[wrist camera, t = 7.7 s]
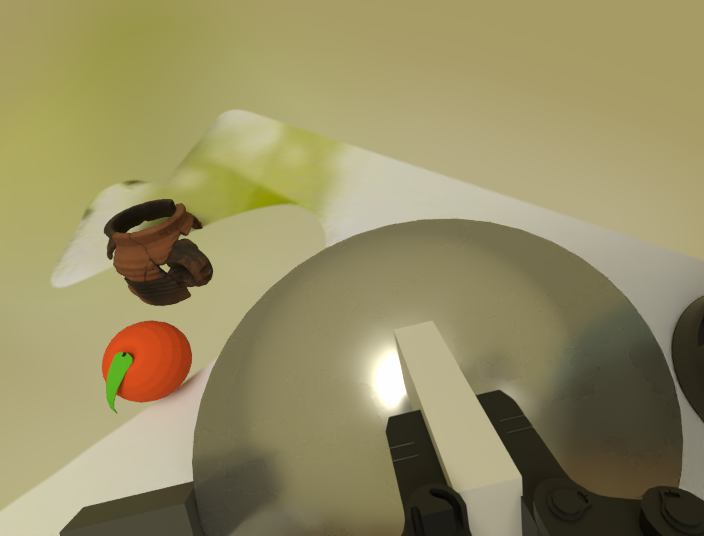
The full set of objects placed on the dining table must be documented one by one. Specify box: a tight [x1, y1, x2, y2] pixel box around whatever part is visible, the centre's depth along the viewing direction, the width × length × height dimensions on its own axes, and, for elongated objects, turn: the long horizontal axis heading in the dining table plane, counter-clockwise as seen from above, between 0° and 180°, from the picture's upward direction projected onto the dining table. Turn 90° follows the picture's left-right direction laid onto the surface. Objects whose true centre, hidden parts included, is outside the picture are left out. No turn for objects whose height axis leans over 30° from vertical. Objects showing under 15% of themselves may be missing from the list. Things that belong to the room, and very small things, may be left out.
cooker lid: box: [59, 219, 683, 536], centre depth 16 cm, size 26×21×2 cm
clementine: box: [102, 321, 192, 413], centre depth 33 cm, size 8×7×7 cm
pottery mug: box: [104, 199, 213, 306], centre depth 38 cm, size 12×10×8 cm
